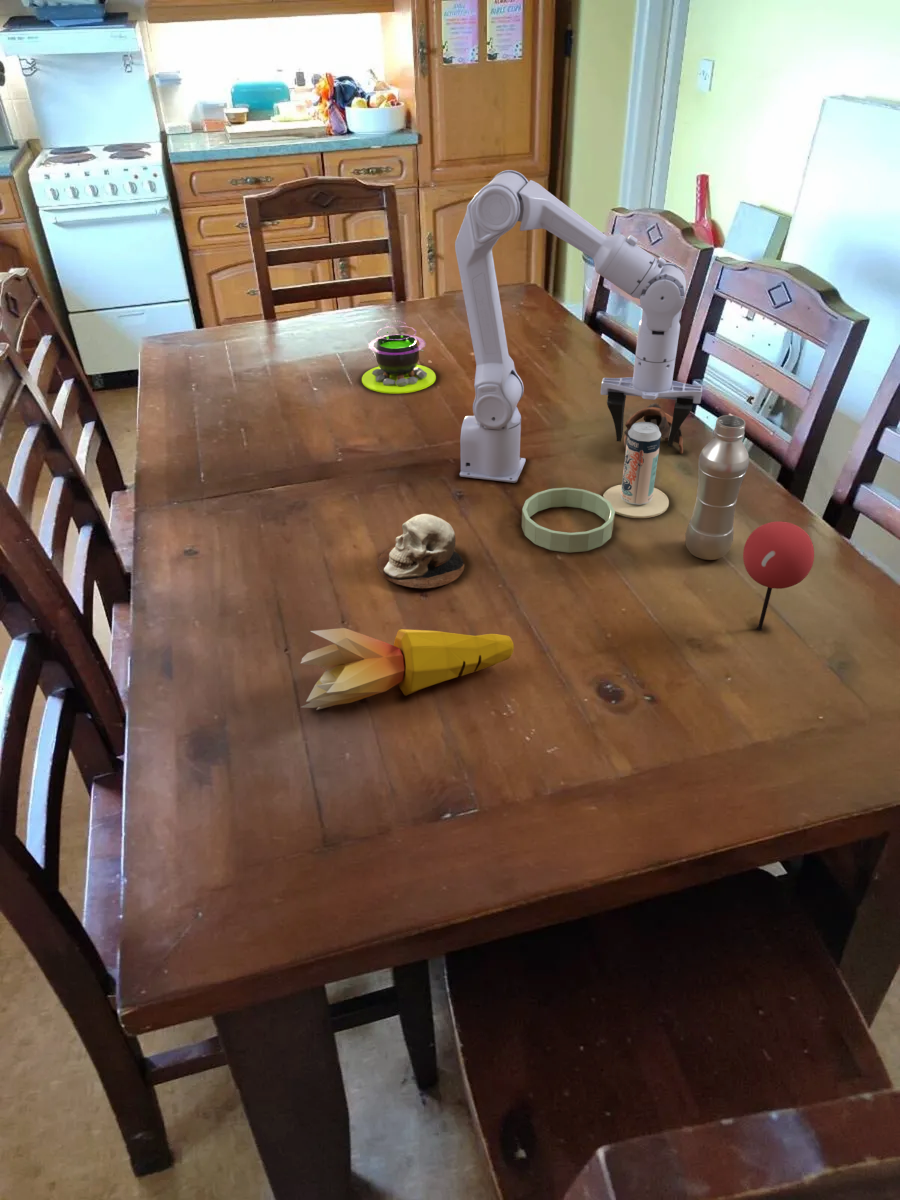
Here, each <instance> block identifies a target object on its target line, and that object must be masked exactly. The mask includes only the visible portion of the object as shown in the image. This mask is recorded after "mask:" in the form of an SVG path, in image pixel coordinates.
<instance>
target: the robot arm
mask: <svg viewBox="0 0 900 1200" xmlns="http://www.w3.org/2000/svg"><path fill="white" fill-rule="evenodd" d="M518 222H520V226H519V231H520V232H525V231H533V230H539V229H543V230H545V231H547V232H549V233H550V234H552V235H554V236H556V237H557V238H559V239H560V240H562V241H564V242H565V243H567V244H569V245H570V246H572V247H574V248H576V249H577V250H578V251H580V252H582V253H583V254H585V255H587V256H588V257H590V258H591V259H592V260H593V264H594V269H595V272H596V273H597V274H598V275H600V277H602V278H603V279H605V280H607V281H608V282H610V283H611V284H612V285H614V286H616V287H617V288H618V289H620V290H621V291H623V292H624V293H626V294H628V295H629V296H631V297H632V298H634V299H638V300H639V303H640V307H641V309H642V310H641V320H639V322H638V330H637V337H636V347H635V355H634V362H633V363H634V364H633V374H632V377H631V376H630V377H629V376H628V377H603V378H602V380H601V386H600V395H601V396H607V399H606V406H607V409H608V410H609V412H610V415H611V418H612V420H613V424H614V429H615V442H620V443H621V442H622V439H623V435H624V434H623V433H624V416H625V407H626V399H627V396H631V397H641V399H644V400H653V401H655V400H657V399H664V400H674V407H673V414H672V417H673V420H672V425H671V429H670V433H669V438H668V441H667V445H666V446H667V447H668V448H672V447H673V444H674V442H673V441H674V438H675V436H676V434H677V432H678V430H679V428H680V429H681V426H682V424H683V423H684V422H685V421H686V419H687V417H688V416H689V415H690V413H691V411H692V409H693V404H699V405H700V404H701V401H702V396H703V390H704V389H703V388H704V386H702V385H695V384H690V383H685V382H681V381H676V380H673V378H674V374H675V373H674V372H675V366H676V365H675V364H676V359H677V358H676V357H677V353H678V352H677V351H678V344H679V338H680V331H681V322H680V321H681V319H682V318H681V317H682V309H683V307H684V305H685V303H686V298H685V296H686V289H687V281H686V280H687V279H686V277H685V274H684V273H683V271H682V270H681V269H680V268H679V266H678V265H677V264H676V263H673V262H667V260H666V259H665V258H663V257H661V256H660V257H659V258H656V257H655V256H654V255H652V254H651V253H649V252H648V251H646V250H645V249H644V248H642V247H640V246H639V245H638V240H639V239H638V238H637V237H635V236H634V235H632V234H629V236H627V237H626V236H624V235H623V234H621V233H618V234H614V235H613V234H612V235H606V234H604V232H602V231H600V229H598V228H597V227H595V226H594V225H592V223H590V222H589V221H588V220H586V219H585V217H584V218H583V217H582V216H581V215H580V214H578V213H577V212H576V211H575V210H573V209H572V208H571V207H569V206H568V205H567V204H566V203H564V202H563V201H562V200H560V198H559V199H558V198H557V197H556V196H555V195H554V194H552V193H551V192H550V191H548V190H547V189H546V188H545V187H544V186H543V185H541V184H540V183H538V182H536V181H534V180H532V179H530V180H528V179H527V177H526V176H525V175H524V174H523V173H521V172H519V171H517V170H513V169H506V170H503V171H500V172H499V173H497V174H496V175H494V176H493V178H492V179H491V180H490V181H489V182H488V183H487V184H486V185H484V186H483V187H482V188H480V190H479V191H478V192H476V194H475V195H474V197H473V198H471V200H470V201H469V203H468V204H467V206H466V211H465V214H464V217H463V220H462V223H461V225H460V228H459V231H458V234H457V237H456V239H455V242H454V250H455V256H456V260H457V267H458V272H459V273H458V274H459V278H460V282H461V288H462V294H463V299H464V304H465V310H466V317H467V322H468V327H469V332H470V337H471V344H472V348H473V355H474V359H475V360H474V361H475V365H476V366H475V374H474V382H473V383H474V386H473V387H474V391H475V396H474V400H473V403H472V413H473V415H466V416H465V417H464V419H463V421H462V424H461V429H460V440H459V441H460V442H459V443H460V446H459V447H460V472H459V477H462V478H470V479H479V480H485V481H496V482H502V483H503V482H504V483H512V484H515V483H517V482H518V480H519V478H520V475H521V473H522V471H523V468H524V467H525V464H526V461H527V460H526V458H525V457H521V437H522V435H521V434H522V433H521V431H522V415H521V413H520V411H519V408H518V404H519V402H520V401H521V399H522V397H523V396H524V392H525V391H524V390H525V387H524V382H523V380H522V378H521V377H520V375H519V374H518V373H517V370H516V366H515V362H514V360H513V359H512V357H511V355H510V354H509V349H508V342H507V336H506V330H505V323H504V317H503V312H502V305H501V298H500V292H499V286H498V280H497V273H496V268H495V262H494V254H493V248H494V246H495V245H496V244H497V242H498V241H499V239H500V238H501V237H502V236H504V235H505V234H507V233H508V232H510V231H511V230H512V229H513V228H514V227H515V226H516V224H517V223H518Z"/></svg>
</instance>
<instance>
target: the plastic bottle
mask: <svg viewBox="0 0 900 1200" xmlns="http://www.w3.org/2000/svg"><path fill="white" fill-rule="evenodd" d="M745 429H746V420H745V419H744V418H742V417H740V416H737V415H733V414H732V415H731V414H725V415H721V416H719V417H717V419H716V422H715V427H714V428H713V435H714V437H712V438H711V439H710V440H709V441H708V442H707V443H706V444H705V445H704V446H703V448H702V449H701V451H700V453H699V455H698V476H697V481H698V482H697V488H696V499H695V503H694V507H693V510H692V514H691V517H690V520H689V522H688V525H687V527H686V530H685V532H684V533H685V534H684V535H685V539H684V540H685V541H684V542H685V546H686V549H687V550H688V551H689V553H690V555H692V556H694V557H695V558H698V559H701V560H706V561H714V560H715V561H716V560H719V559H721V558H723V557H725V556H726V555H727V554H728V553H729V552H730V550H731V548H732V546H733V542H734V534H735V532H734V530H735V529H734V522H735V521H734V520H735V515H736V514H735V512H736V505H737V502H738V497H739V494H740V490H741V487H742V484H743V481H744V479H745V477H746V473H747V471H748V468H749V465H750V455H749V452H748V450H747V448H746V445H745V443H744V442H743V439H744V437H745V433H746V431H745Z"/></svg>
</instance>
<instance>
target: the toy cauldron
mask: <svg viewBox="0 0 900 1200" xmlns="http://www.w3.org/2000/svg"><path fill="white" fill-rule="evenodd" d="M392 322H395V320H392ZM398 322H401V323H403V324H405V321H401V320H398ZM384 327H385V329H387V328H391V329H394V326H391V325H390V326H389V325H388V322H385V323H384ZM384 327H382V328H380V329H378V330H377V331H376V333H375V334H376V338H374V339H372V340H370V342H368V344H367V346H368V349H370V351H371V352H372V351H373V352H374V353H375V360H376V363H377V365H378V366H375V367H373V368H371V369H369V370H367V371H366V372H364V373H363V375H362V376H361V383H362V385H363V386H364V387H365V388H366V389H368V390H370V391H374V392H377V393H381V394H390V395H391V394H396V395H397V394H398V395H399V394H401V395H402V394H410V393H415V392H418V391H419V392H420V391H421V390H424V389H427V388H428V387H430V386H432V385H433V384H434V383H435V382H436V380H437V376H436V373H435V372H434V370H432V369H431V368H429V367H428V366H425V365H421V364H418V363H419V360H420V352H422V353H424V352H425V350H424V348H425V346H426V341H424V338H422V337H419V336H416V335H417V330H416V329H415V328H413V327H410V329H412V330H413V331H414V334H412V335H411V334H407V333H406V334H404V333H403V334H402V333H398V334H397V333H393V334H389V331H386V334H387V335H381V336H380V335H379V333H378V332H379V331H381V330H382V329H384ZM403 327H404V328H408V326H407V325H402V328H403ZM399 328H401V326H395V329H399ZM417 341H418V342H419V345H418V343H417ZM375 343H376V347H375Z"/></svg>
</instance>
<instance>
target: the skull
mask: <svg viewBox="0 0 900 1200" xmlns="http://www.w3.org/2000/svg"><path fill="white" fill-rule="evenodd" d="M401 527H402V528H401V529H402V534H401V535H398V536H397V537H395V545H393V546H391V547H388V549H386V550H384V551H383V552H382V553H381V554H380V555H379V556H378V558H377V561H376V562H377V563H376V567H377V569H378V572H379V573H380V575H381V576H382V577H383V578H384V579H385V580H387V581H388V582H391V583H393V584H395V585H400V586H402V587H406V588H413V589H419V590H420V589H421V590H425V589H436V588H438V587H442V586H444V585H445V586H446V585H449V584H451V583H453V582H454V581H456V580H457V579H458V578H459V577H460V576H461V575H462V574H463V572H464V569H465V562H464V560H463V557H462V556H461V555H460V553H459V552H457V551H456V550H455V549H456V532H455V530H454V528H453V527H452V525H451V524H450V523H449V522H447V521H446V520H444V519H443V518H441V517H438V516H436V515H434V514H430V513H421V514H417V515H414V516H413V517H411V518H410V519H408V520H407V521H405V522H403V523H402V526H401Z"/></svg>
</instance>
